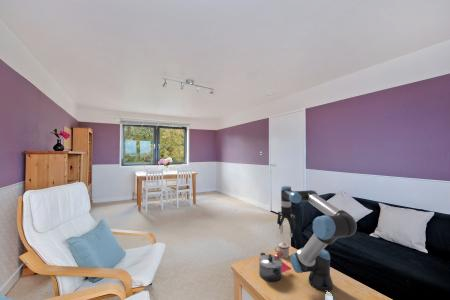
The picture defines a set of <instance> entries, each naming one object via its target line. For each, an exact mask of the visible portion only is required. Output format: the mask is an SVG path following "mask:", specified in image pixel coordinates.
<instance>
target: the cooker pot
mask: <svg viewBox="0 0 450 300" xmlns="http://www.w3.org/2000/svg"><path fill="white" fill-rule="evenodd" d="M262 255H267V253H265V252H260V256H262ZM258 263H259V262H258ZM258 266H259V268H258V269H259V270H258V271H259V273H258V275H259V277H260V278H261V279H262V280H264V281H266V282H270V283H276V282H279V281H281V279H282V277H283V276H282V275H283V271H282V266H283V265H282V266H281V267H280V268H277V269H269V268H265V267H263V266H262V265H261V264H260V263H259V265H258Z"/></svg>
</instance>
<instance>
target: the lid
mask: <svg viewBox="0 0 450 300" xmlns="http://www.w3.org/2000/svg"><path fill="white" fill-rule="evenodd" d="M282 256H283V252H281V251H280V252H276V253H275V254H270V253H269V254H266V255H262V256H261V255H260V256H259V257H258V263H260V264H261V265H262V266H263V267H265V268H269V269H277V268H280V267H281V266H283V260H282Z"/></svg>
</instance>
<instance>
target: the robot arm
mask: <svg viewBox="0 0 450 300" xmlns="http://www.w3.org/2000/svg"><path fill="white" fill-rule="evenodd" d="M280 193H281V194H280V197H281V198H280V201H281V202H280V204H281V206H280V209H281V210H280V211H277V223H276V224H277V225H278V226H279V234H280V235H282V234H284V225H283V223H284V221H285V219H287V221H288V224H289V225H288V226H289V227H290V228H289V238H290V239H291V238H292V237H293V233H294V229H296V228H297V224H296V215H295V214H292V203H295V204H299V203H300V202H308V203H309V204H311V205H312V206H313V207H315V208H316V209H317V210H319V212H321V213H323V214H324V215H321V216H317V217H315V218H314V219H313V221H312V227H311V228H312V232H313V234H312V235H311V237H310V238H308V241H307V242H306V244H305V245H304V247H301V248H299V249H298V250H297V252H292V253H291V254H290V255H289V257H290V263H291V267H292V268H293V271H294V272H295V273H298V274H302V273H307V272H310V273H309V276H308V283H309V286H311V287H312V288H314V289H315V290H319V291H322V292H326V291H325V290H330V291H332V290H333V289H334V283H333V279H332V276H331V254H330V252H329V251H328V250H326V249H325V248H326V247H327V246H328V245H332V244H334V243H335V241H336V240H337V239H340V238H341V239H342V238H349V237H352V236H353V235H355V233H356V231H357V230H358V229H357V228H358V226H357V225H358V224H357V221H356V219H355V218H354V216H352V215H351V214H350V213H349V212H347V211H346V210H343V209H339V208H338V207H336V206H334V205H333V204H331V203H330V202H328V201H327V200H325V199H323V198H322V197H321V196H319V195H318V192H317V191H316V190H313V189H311V190H310V189H309V190H297V191H296V190H294V191H293V190H292V186H290V185H282V186H281V189H280Z"/></svg>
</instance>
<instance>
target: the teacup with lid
mask: <svg viewBox="0 0 450 300" xmlns="http://www.w3.org/2000/svg"><path fill="white" fill-rule="evenodd" d="M276 248H277V249H278V250H277V249H276ZM274 251H275V252H276V253H278V252H280V251H281V252H283V256H282V257H281V259H288V258H289V257H290V252H289V251H290V245H289V244H288V243H286V242H285V241H282V242H280V243H278V245H277V246H275V247H274Z"/></svg>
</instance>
